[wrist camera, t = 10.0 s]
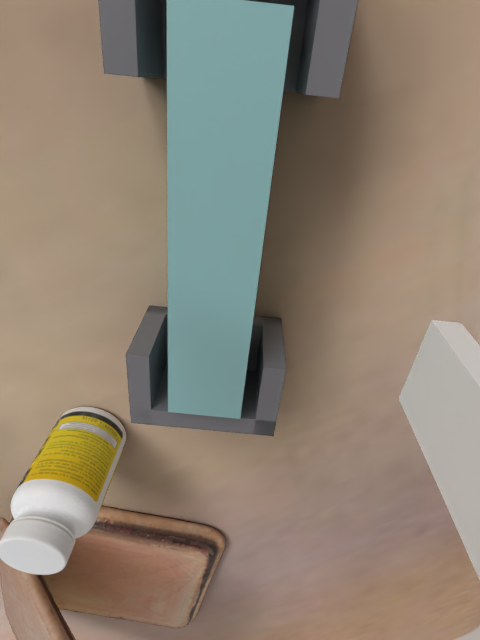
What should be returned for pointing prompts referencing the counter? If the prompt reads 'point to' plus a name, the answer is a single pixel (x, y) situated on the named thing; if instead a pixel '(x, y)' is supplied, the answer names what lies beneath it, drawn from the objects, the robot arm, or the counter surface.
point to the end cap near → (309, 3)
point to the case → (117, 575)
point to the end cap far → (152, 408)
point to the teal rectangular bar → (218, 189)
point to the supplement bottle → (62, 490)
